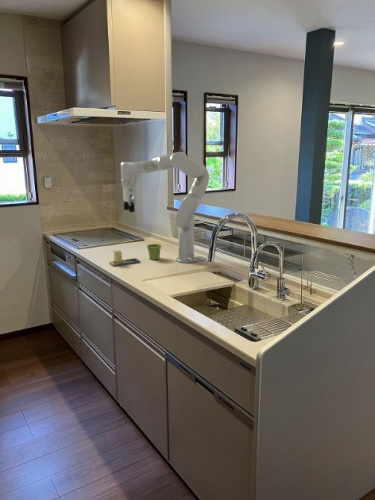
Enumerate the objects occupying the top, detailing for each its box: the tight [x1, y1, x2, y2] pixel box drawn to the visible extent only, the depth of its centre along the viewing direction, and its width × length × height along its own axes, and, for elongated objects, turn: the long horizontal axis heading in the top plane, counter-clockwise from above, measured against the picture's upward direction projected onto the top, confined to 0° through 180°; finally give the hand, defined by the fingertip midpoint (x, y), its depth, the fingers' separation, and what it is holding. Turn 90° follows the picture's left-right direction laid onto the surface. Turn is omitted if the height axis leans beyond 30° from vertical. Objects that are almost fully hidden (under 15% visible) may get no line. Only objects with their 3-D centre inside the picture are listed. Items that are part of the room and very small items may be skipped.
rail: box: [109, 257, 141, 267], centre depth 245 cm, size 17×7×1 cm, turn 117°
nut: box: [112, 250, 123, 264], centre depth 243 cm, size 4×4×8 cm
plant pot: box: [146, 243, 162, 261], centre depth 253 cm, size 9×9×9 cm
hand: (129, 210), depth 249 cm, fingers open, 9 cm apart
